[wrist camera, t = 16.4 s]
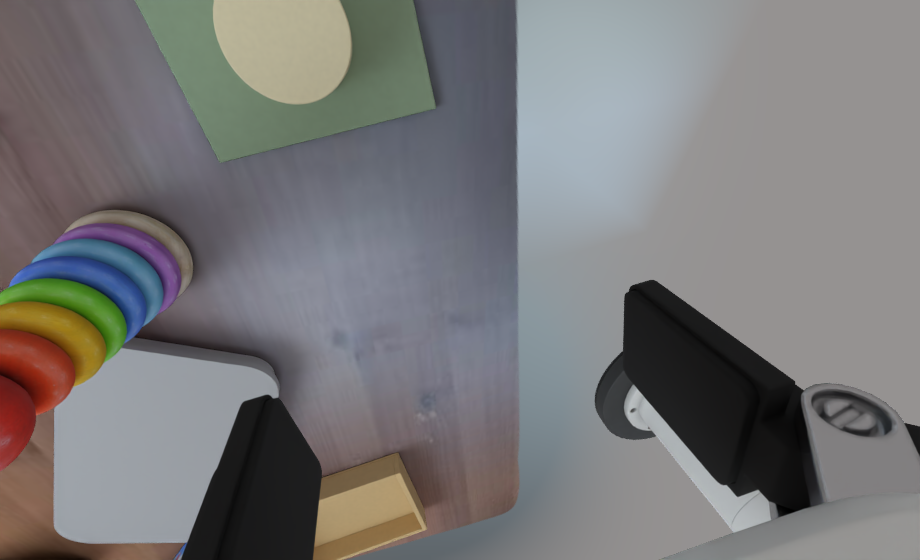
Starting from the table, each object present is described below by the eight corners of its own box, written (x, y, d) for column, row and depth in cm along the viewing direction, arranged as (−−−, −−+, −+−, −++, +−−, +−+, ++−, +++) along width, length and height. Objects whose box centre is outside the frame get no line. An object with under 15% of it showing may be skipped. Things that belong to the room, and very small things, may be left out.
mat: (389, -105, 23) (390, -109, 23) (435, 107, 29) (436, 108, 29) (111, -52, 22) (105, -54, 21) (222, 161, 28) (219, 163, 27)
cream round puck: (329, -41, 24) (324, -61, 20) (366, 85, 27) (368, 89, 23) (212, -17, 23) (183, -33, 19) (266, 109, 26) (251, 117, 23)
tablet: (289, 356, 37) (285, 372, 35) (240, 522, 47) (235, 542, 45) (73, 321, 31) (55, 338, 29) (68, 520, 40) (53, 543, 39)
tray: (397, 452, 47) (400, 472, 45) (424, 508, 54) (427, 529, 52) (256, 500, 45) (250, 524, 43) (301, 552, 52) (299, 575, 50)
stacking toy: (47, 210, 27) (-398, 425, 11) (176, 202, 28) (-51, 379, 13) (100, 305, 31) (-173, 566, 15) (210, 293, 32) (70, 517, 16)
